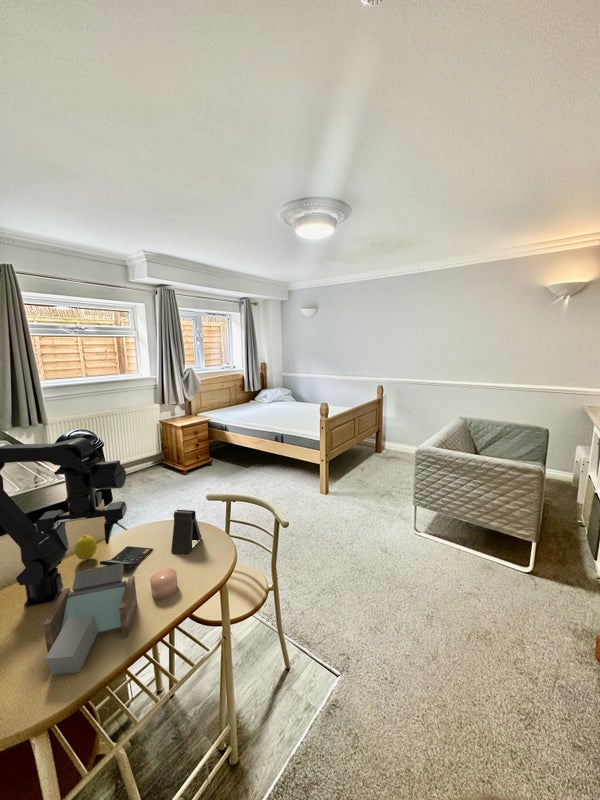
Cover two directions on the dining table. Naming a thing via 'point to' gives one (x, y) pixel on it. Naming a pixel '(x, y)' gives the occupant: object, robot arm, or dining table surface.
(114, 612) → the trapdoor
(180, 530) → the dark folding easel stand
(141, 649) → the dining table surface
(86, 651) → the gray rectangular block
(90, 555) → the lemon
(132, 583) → the frame
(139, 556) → the calculator
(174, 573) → the pink rounded block
